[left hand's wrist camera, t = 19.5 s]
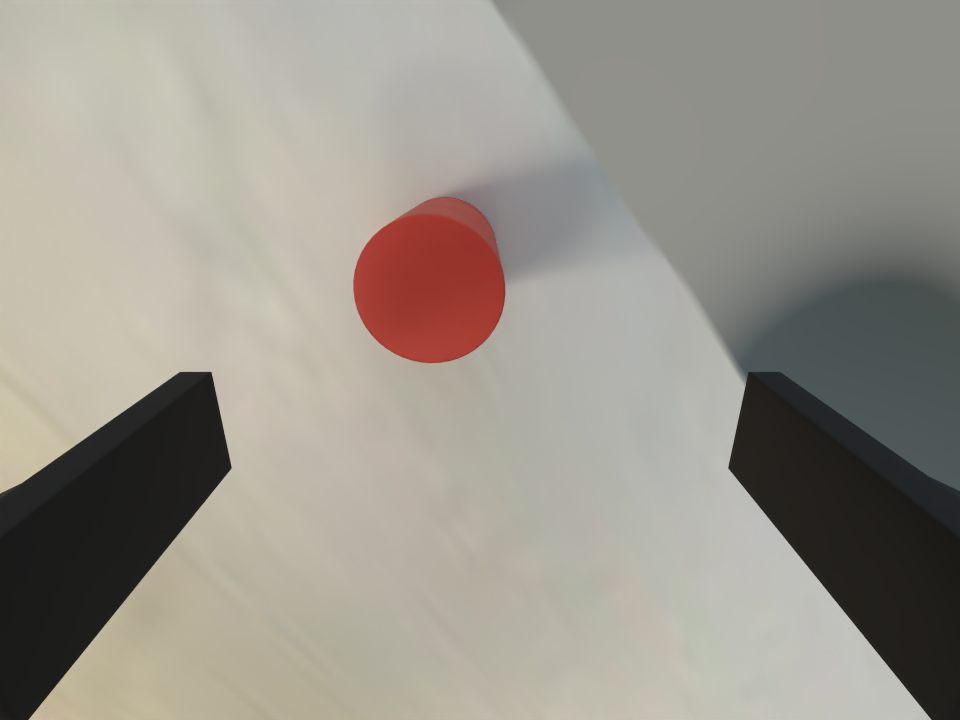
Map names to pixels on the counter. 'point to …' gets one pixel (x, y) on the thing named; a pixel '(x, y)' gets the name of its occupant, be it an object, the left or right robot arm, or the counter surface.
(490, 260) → the can
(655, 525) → the counter surface
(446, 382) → the counter surface
